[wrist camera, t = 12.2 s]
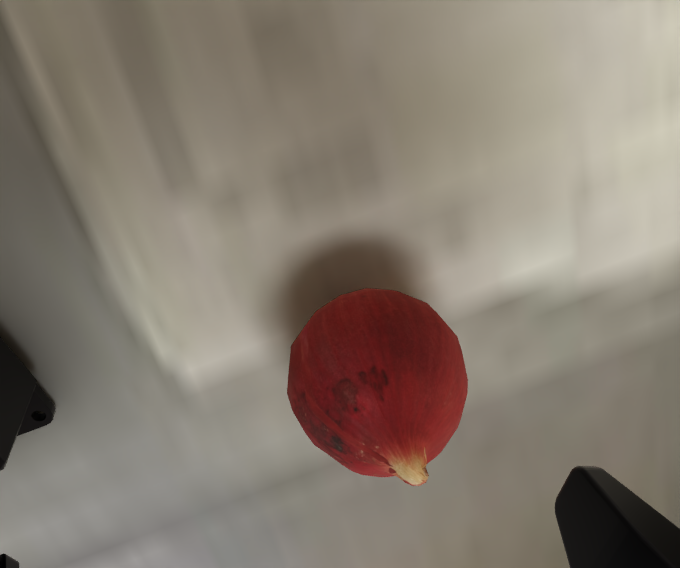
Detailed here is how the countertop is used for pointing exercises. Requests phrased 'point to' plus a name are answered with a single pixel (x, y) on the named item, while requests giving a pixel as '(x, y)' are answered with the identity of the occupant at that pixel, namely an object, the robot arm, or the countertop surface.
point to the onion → (378, 383)
